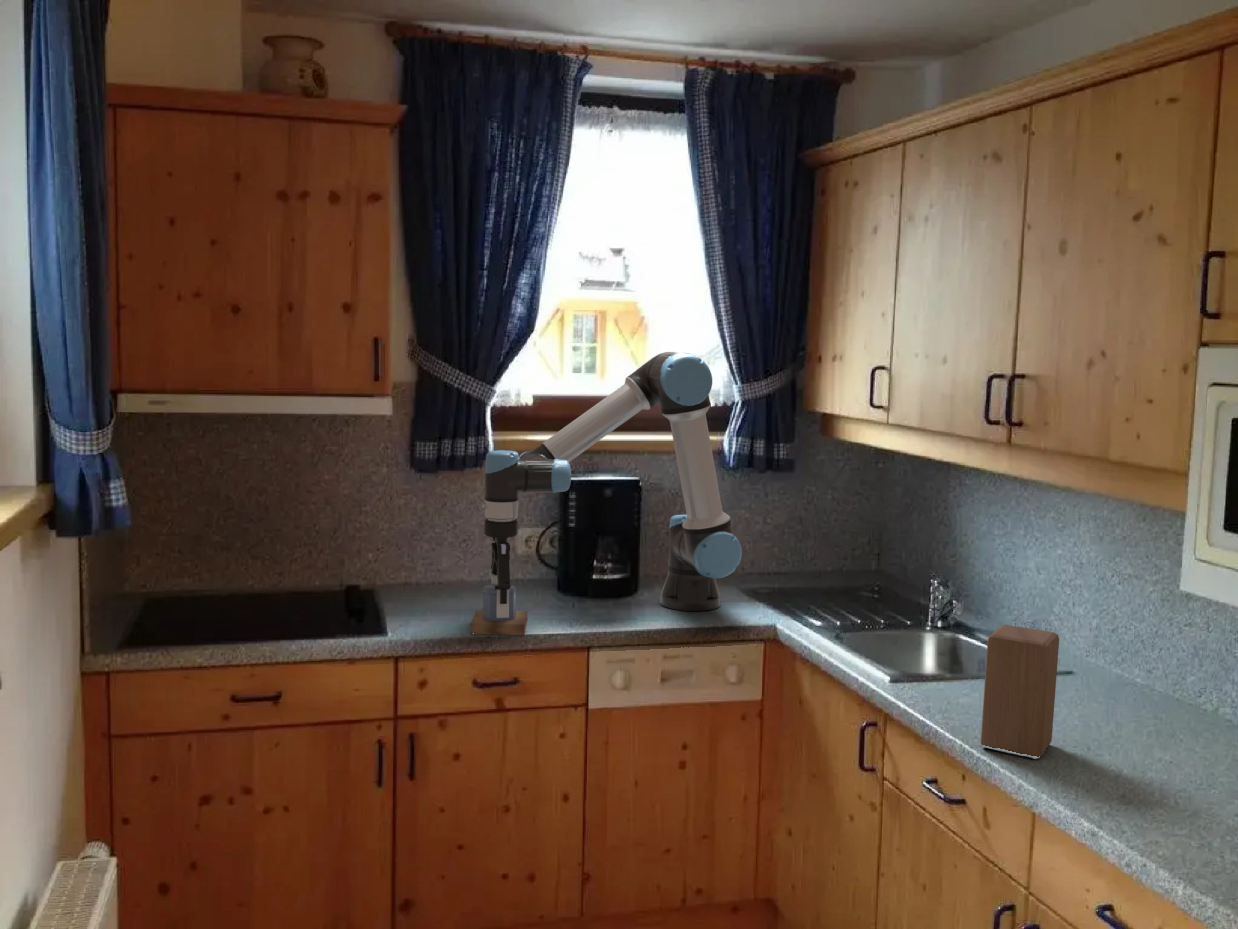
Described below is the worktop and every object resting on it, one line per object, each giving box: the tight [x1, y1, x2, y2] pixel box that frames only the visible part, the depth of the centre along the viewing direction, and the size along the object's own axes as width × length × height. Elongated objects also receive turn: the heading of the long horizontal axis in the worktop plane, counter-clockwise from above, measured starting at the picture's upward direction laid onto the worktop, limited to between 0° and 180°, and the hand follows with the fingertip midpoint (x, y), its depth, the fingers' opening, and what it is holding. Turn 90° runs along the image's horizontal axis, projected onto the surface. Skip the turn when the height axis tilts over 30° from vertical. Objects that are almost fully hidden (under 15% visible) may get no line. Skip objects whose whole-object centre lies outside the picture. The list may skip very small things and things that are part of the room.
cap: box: [482, 583, 517, 621], centre depth 262 cm, size 7×7×7 cm
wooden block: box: [980, 624, 1060, 757], centre depth 195 cm, size 10×10×20 cm
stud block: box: [470, 609, 529, 636], centre depth 263 cm, size 12×12×8 cm
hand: (499, 609), depth 263 cm, fingers open, 13 cm apart
